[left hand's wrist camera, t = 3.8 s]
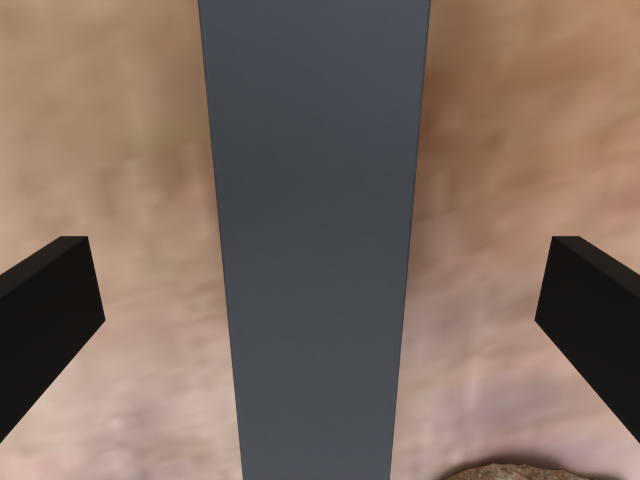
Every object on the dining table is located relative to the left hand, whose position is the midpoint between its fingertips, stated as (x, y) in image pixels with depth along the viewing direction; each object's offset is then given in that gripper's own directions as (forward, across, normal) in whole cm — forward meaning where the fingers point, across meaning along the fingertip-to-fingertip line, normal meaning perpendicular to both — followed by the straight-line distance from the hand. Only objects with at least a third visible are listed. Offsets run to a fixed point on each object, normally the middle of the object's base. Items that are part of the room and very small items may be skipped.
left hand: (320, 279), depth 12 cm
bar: (+5, 0, -35) cm, 36 cm away
